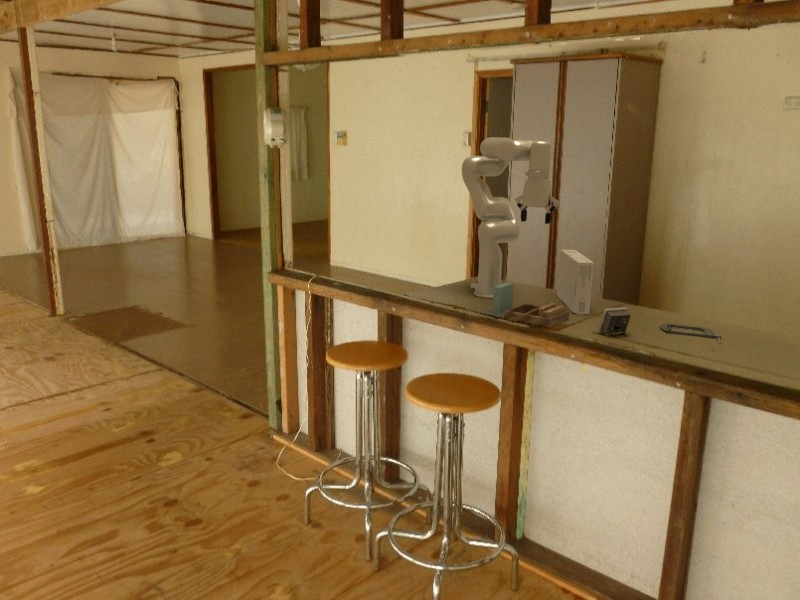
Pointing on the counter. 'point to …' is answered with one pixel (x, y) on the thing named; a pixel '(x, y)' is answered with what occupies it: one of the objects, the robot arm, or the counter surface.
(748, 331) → the counter surface
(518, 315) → the brown divided tray
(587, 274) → the packaging
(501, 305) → the teal square block
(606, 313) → the electrical switch
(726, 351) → the counter surface
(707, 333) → the c clamp
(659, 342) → the counter surface
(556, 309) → the offcuts
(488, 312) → the mat
